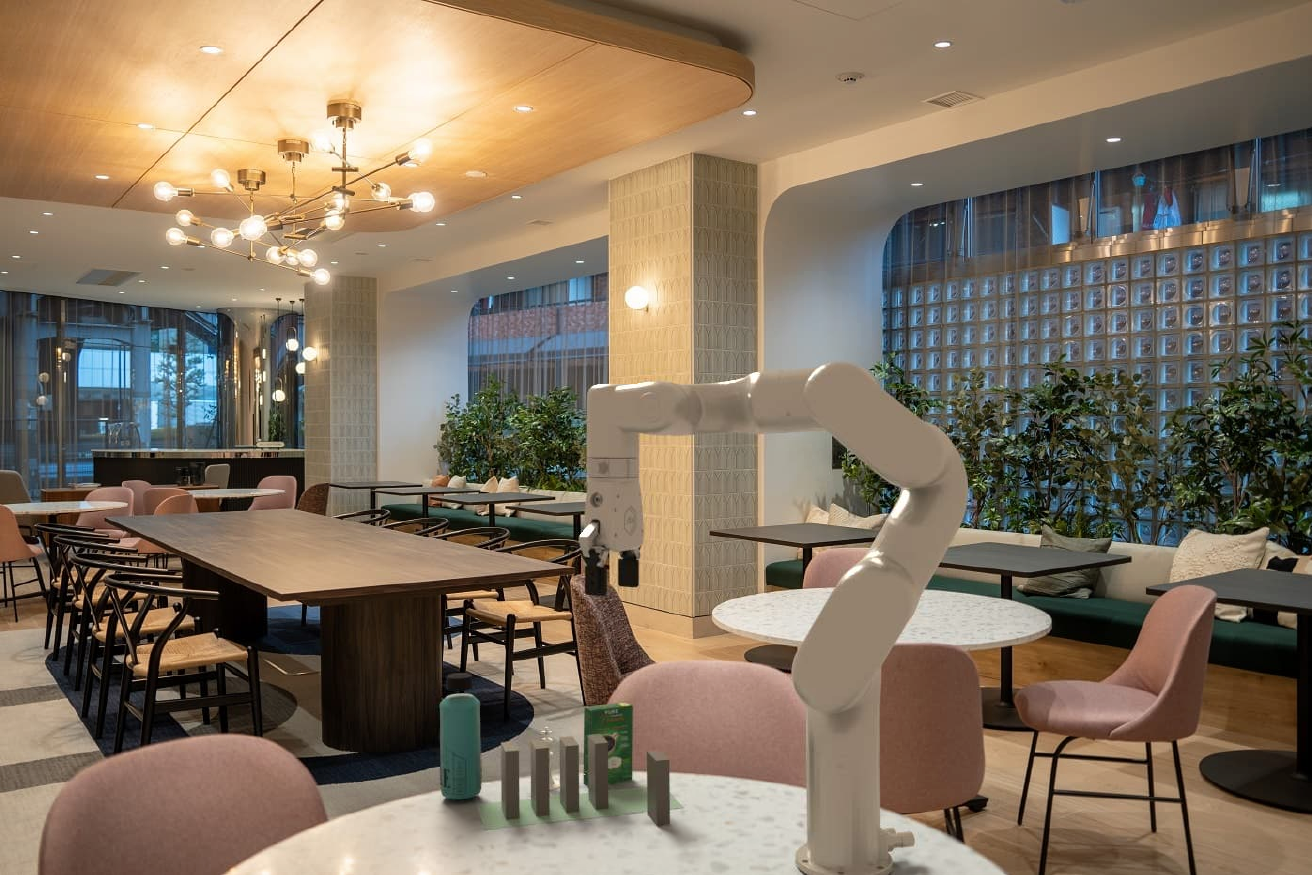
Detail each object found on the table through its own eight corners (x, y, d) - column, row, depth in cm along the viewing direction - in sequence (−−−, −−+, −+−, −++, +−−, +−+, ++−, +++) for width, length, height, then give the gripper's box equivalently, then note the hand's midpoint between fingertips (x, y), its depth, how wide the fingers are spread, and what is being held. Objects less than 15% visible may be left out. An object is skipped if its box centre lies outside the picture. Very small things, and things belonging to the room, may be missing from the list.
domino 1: (514, 807, 158) (514, 741, 158) (519, 818, 153) (519, 750, 153) (501, 808, 157) (501, 742, 157) (506, 819, 152) (505, 751, 153)
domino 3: (572, 800, 160) (572, 736, 160) (579, 811, 155) (578, 745, 156) (559, 802, 160) (559, 737, 160) (566, 813, 155) (565, 746, 155)
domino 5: (660, 816, 155) (659, 749, 155) (670, 828, 150) (669, 759, 150) (647, 818, 154) (646, 750, 154) (656, 830, 149) (656, 760, 150)
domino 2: (543, 803, 159) (543, 738, 159) (549, 814, 154) (549, 747, 154) (530, 805, 158) (530, 739, 159) (536, 816, 154) (535, 748, 154)
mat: (663, 788, 167) (663, 785, 167) (683, 811, 157) (683, 807, 157) (476, 808, 159) (476, 804, 159) (484, 833, 149) (484, 829, 149)
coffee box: (626, 778, 173) (625, 699, 173) (634, 783, 170) (633, 703, 170) (582, 786, 169) (581, 706, 169) (590, 791, 166) (589, 710, 166)
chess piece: (557, 795, 165) (556, 732, 165) (527, 793, 166) (527, 730, 166) (566, 785, 170) (565, 724, 170) (537, 783, 171) (536, 722, 171)
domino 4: (601, 797, 162) (600, 733, 162) (608, 808, 157) (607, 742, 157) (588, 799, 161) (588, 734, 161) (595, 810, 156) (595, 743, 156)
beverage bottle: (490, 799, 163) (489, 672, 163) (461, 812, 157) (460, 680, 158) (459, 792, 167) (459, 668, 167) (430, 804, 161) (429, 675, 161)
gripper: (607, 472, 138) (606, 600, 138) (662, 469, 154) (662, 585, 154) (558, 471, 142) (558, 597, 142) (618, 469, 157) (617, 582, 157)
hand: (612, 590), depth 148 cm, fingers open, 9 cm apart
